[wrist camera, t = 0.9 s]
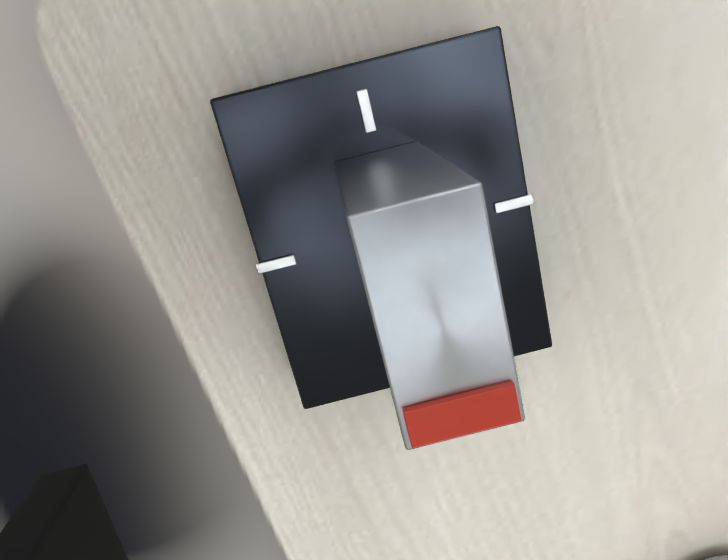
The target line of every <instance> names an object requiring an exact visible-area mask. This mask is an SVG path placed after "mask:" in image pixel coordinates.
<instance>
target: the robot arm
mask: <svg viewBox="0 0 728 560" xmlns="http://www.w3.org/2000/svg"><path fill="white" fill-rule="evenodd" d="M0 560H128V558H127V555H126V553H125V551H124V549H123V546H122V544H121V541H120V539H119V537H118V535H117V532H116V530H115V528H114V525H113V523H112V521H111V519H110V516H109V514H108V511H107V509H106V507H105V505H104V503H103V500H102V498H101V495H100V493H99V491H98V489H97V486H96V484H95V482H94V479H93V477H92V474H91V472H90V470H89V468H88V465H87V464H83V465H79V466H75V467H71V468H67V469H63V470H59V471H55V472H51V473H47V474H43V475H40V477H39V478H38V480H37V481H36V483H35V484H34V486H33V487H32V488H31V490H30V491H29V493H28V494H27V495H26V497H25V498H24V500H23V501H22V503H21V504H20V506H19V507H18V508H17V510H16V511H15V513H14V514H13V516H12V517H11V519H10V520H9V521H8V523H7V524H6V526H5V527H4V529H3V530H2V531H1V533H0Z"/></svg>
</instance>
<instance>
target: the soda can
mask: <svg viewBox="0 0 728 560" xmlns="http://www.w3.org/2000/svg"><path fill="white" fill-rule="evenodd" d="M704 560H728V555H719V556H714V557H710V558H707V559H704Z"/></svg>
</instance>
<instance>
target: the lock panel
mask: <svg viewBox="0 0 728 560" xmlns="http://www.w3.org/2000/svg"><path fill="white" fill-rule="evenodd" d="M210 104H211V107H212V110H213V113H214V117H215V120H216V123H217V126H218V130H219V133H220V136H221V139H222V143H223V146H224V149H225V153H226V156H227V159H228V162H229V166H230V169H231V172H232V175H233V179H234V182H235V185H236V189H237V192H238V195H239V198H240V202H241V205H242V208H243V211H244V215H245V218H246V221H247V225H248V228H249V231H250V234H251V238H252V241H253V244H254V247H255V251H256V254H257V257H258V260H259V263H256V267H257V270H258V273H259V274H260V273H262V274H263V277H264V280H265V283H266V287H267V290H268V293H269V296H270V300H271V303H272V306H273V310H274V313H275V316H276V319H277V323H278V326H279V329H280V332H281V336H282V339H283V342H284V345H285V349H286V352H287V355H288V359H289V362H290V365H291V368H292V372H293V375H294V378H295V381H296V385H297V388H298V391H299V395H300V398H301V401H302V404H303V407H304V409H308V408H312V407H316V406H320V405H324V404H328V403H331V402H335V401H339V400H343V399H347V398H351V397H355V396H359V395H363V394H367V393H371V392H375V391H379V390H383V389H387V388H390V386H389V382H388V378H387V374H386V370H385V366H384V362H383V358H382V354H381V351H380V347H379V343H378V339H377V335H376V331H375V327H374V323H373V319H372V315H371V311H370V307H369V304H368V300H367V296H366V292H365V288H364V284H363V280H362V276H361V272H360V268H359V264H358V260H357V257H356V253H355V249H354V245H353V241H352V237H351V233H350V229H349V225H348V221H347V217H346V213H345V209H344V204H343V200H342V196H341V192H340V187H339V183H338V179H337V174H336V170H335V166H334V163H335V162H337V161H341V160H345V159H349V158H353V157H357V156H361V155H365V154H369V153H373V152H377V151H381V150H385V149H389V148H393V147H396V146H400V145H404V144H408V143H412V142H419V143H420V144H422V145H424V146H425V147H427V148H428V149H430V150H431V151H433V152H434V153H436V154H438V155H439V156H441V157H442V158H444V159H445V160H447V161H448V162H450V163H452V164H453V165H455V166H456V167H458V168H459V169H461V170H462V171H464V172H465V173H467V174H469V175H470V176H472V177H473V178H475V179H476V180H478V181H479V182H481V184H482V187H483V193H484V198H485V203H486V209H487V214H488V220H489V225H490V230H491V236H492V241H493V247H494V252H495V258H496V263H497V268H498V274H499V279H500V285H501V290H502V295H503V301H504V306H505V312H506V317H507V323H508V328H509V333H510V339H511V344H512V350H513V355H514V356H517V355H521V354H525V353H529V352H533V351H537V350H541V349H544V348H548V347H551V346H552V340H551V334H550V328H549V321H548V315H547V309H546V303H545V297H544V291H543V285H542V278H541V272H540V266H539V260H538V254H537V248H536V242H535V236H534V229H533V223H532V217H531V211H530V205H531V204H534V201H533V195H532V194H528V193H527V186H526V180H525V174H524V168H523V162H522V156H521V150H520V144H519V137H518V131H517V125H516V119H515V113H514V107H513V101H512V94H511V88H510V82H509V76H508V70H507V64H506V58H505V52H504V45H503V39H502V33H501V28H500V27H499V26H496V27H492V28H488V29H484V30H480V31H476V32H473V33H469V34H465V35H461V36H457V37H453V38H449V39H445V40H441V41H437V42H433V43H429V44H425V45H421V46H418V47H414V48H410V49H406V50H402V51H398V52H394V53H390V54H386V55H382V56H378V57H374V58H370V59H366V60H363V61H359V62H355V63H351V64H347V65H343V66H339V67H335V68H331V69H327V70H323V71H319V72H315V73H311V74H308V75H304V76H300V77H296V78H292V79H288V80H284V81H280V82H276V83H272V84H268V85H264V86H260V87H257V88H253V89H249V90H245V91H241V92H237V93H233V94H229V95H225V96H221V97H217V98H213V99H211V100H210Z"/></svg>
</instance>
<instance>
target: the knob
mask: <svg viewBox="0 0 728 560" xmlns="http://www.w3.org/2000/svg"><path fill="white" fill-rule="evenodd" d="M334 166H335V170H336V174H337V179H338V183H339V187H340V192H341V196H342V200H343V204H344V209H345V213H346V217H347V221H348V225H349V229H350V233H351V237H352V241H353V245H354V249H355V253H356V257H357V260H358V264H359V268H360V272H361V276H362V280H363V284H364V288H365V292H366V296H367V300H368V304H369V307H370V311H371V315H372V319H373V323H374V327H375V331H376V335H377V339H378V343H379V347H380V351H381V354H382V358H383V362H384V366H385V370H386V374H387V378H388V382H389V386H390V390H391V394H392V398H393V401H394V405H395V409H396V413H397V417H398V421H399V425H400V429H401V433H402V437H403V441H404V445H405V448H406V449H407V450H410V449H414V448H418V447H422V446H426V445H430V444H434V443H438V442H442V441H446V440H450V439H454V438H458V437H462V436H466V435H470V434H474V433H478V432H482V431H485V430H489V429H493V428H497V427H501V426H505V425H509V424H513V423H517V422H521V421H524V420H525V415H524V409H523V404H522V398H521V393H520V387H519V382H518V377H517V371H516V366H515V360H514V355H513V350H512V344H511V339H510V333H509V328H508V323H507V317H506V312H505V306H504V301H503V295H502V290H501V285H500V279H499V274H498V268H497V263H496V258H495V252H494V247H493V241H492V236H491V230H490V225H489V220H488V214H487V209H486V203H485V198H484V193H483V187H482V184H481V182H479V181H478V180H476V179H475V178H473V177H472V176H470V175H469V174H467V173H465V172H464V171H462V170H461V169H459V168H458V167H456V166H455V165H453V164H452V163H450V162H448V161H447V160H445V159H444V158H442V157H441V156H439V155H438V154H436V153H434V152H433V151H431V150H430V149H428V148H427V147H425V146H424V145H422V144H420V143H419V142H412V143H408V144H404V145H400V146H396V147H393V148H389V149H385V150H381V151H377V152H373V153H369V154H365V155H361V156H357V157H353V158H349V159H345V160H341V161H337V162H335V163H334Z"/></svg>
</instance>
